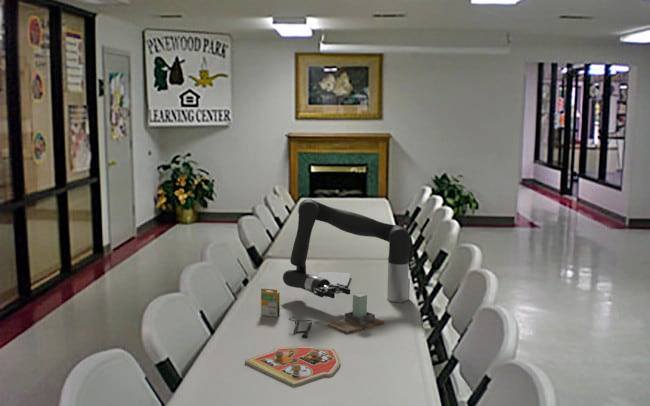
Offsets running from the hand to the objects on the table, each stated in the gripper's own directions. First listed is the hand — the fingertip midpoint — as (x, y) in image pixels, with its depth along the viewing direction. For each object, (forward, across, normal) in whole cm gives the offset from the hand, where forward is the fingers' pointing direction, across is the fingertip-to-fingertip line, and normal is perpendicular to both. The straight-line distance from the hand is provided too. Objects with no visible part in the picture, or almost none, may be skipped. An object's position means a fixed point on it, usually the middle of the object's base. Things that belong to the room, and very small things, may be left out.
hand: (342, 294), depth 274 cm
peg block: (+11, 0, +9) cm, 14 cm away
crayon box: (-20, -22, +10) cm, 31 cm away
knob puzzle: (+29, -43, +10) cm, 53 cm away
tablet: (-43, +31, +10) cm, 54 cm away
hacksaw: (-1, -22, +10) cm, 25 cm away
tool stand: (+11, -2, +10) cm, 15 cm away
